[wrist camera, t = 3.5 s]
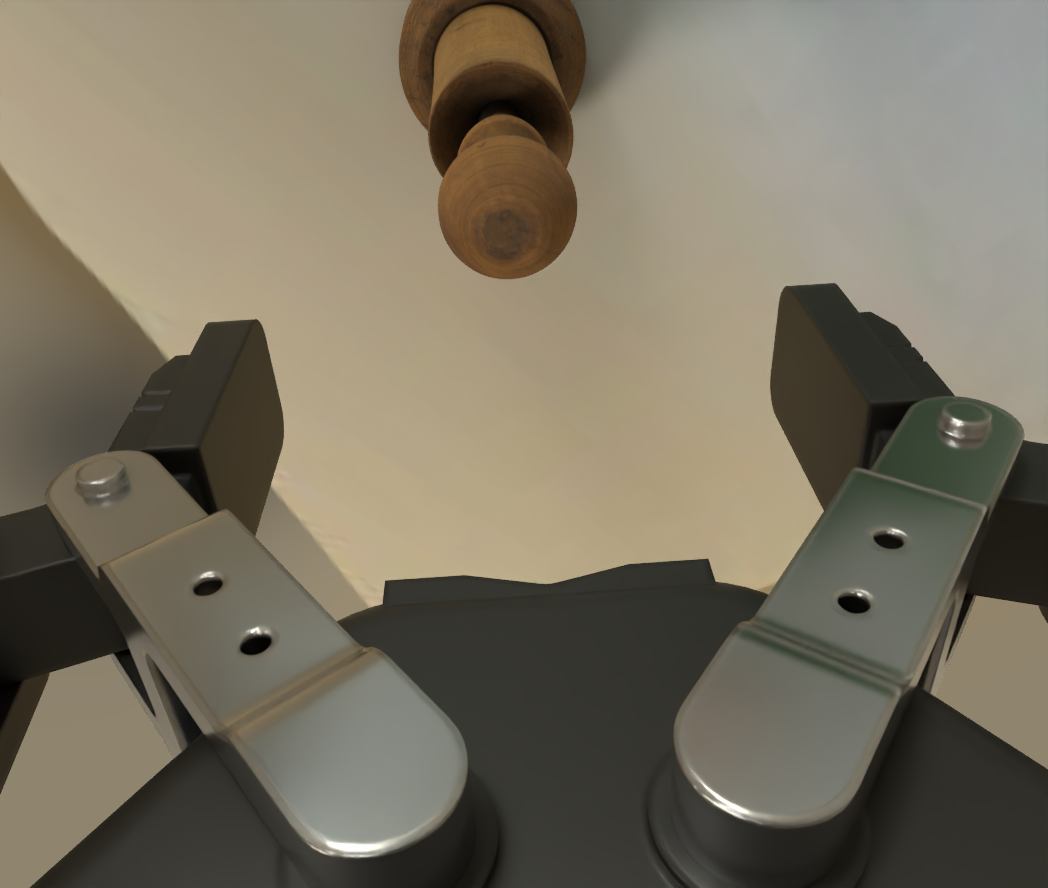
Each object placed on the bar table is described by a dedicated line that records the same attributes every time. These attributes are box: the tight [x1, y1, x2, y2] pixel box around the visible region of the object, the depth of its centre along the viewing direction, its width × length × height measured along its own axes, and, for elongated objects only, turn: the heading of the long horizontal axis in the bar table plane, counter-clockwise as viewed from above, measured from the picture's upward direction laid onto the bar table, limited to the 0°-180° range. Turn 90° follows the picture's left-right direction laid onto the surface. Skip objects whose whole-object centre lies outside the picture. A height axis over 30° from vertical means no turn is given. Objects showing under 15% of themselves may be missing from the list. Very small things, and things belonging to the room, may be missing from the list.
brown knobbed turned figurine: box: [399, 0, 586, 279], centre depth 27 cm, size 7×6×18 cm
